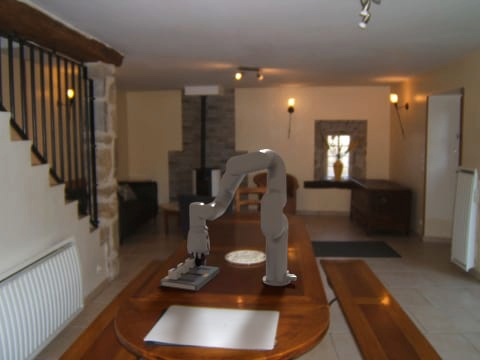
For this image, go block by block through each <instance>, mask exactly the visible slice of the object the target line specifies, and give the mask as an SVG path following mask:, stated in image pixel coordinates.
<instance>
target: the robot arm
mask: <svg viewBox="0 0 480 360" xmlns="http://www.w3.org/2000/svg"><path fill="white" fill-rule="evenodd" d="M264 170H266V172H267V173H266V174H267V175H266V192H265V193H264V194H263V196H262V197H261V200H260V229H261V232H262V234H263V235H264V236H265V275H264V276H263V277H262V282H263V283H264V284H265V285H268V286H272V287H284V286H286V285H289V284H290V283H291V281H294V282H295V281H297V279H298V278H297V276H296V275H295V274H290V270H288V240H289V239H288V236H289V220H288V218H287V216H286V215H285V213H284V208H285V206H286V204H287V199H288V197H287V196H288V195H287V167H286V163H285V161H284V159H283V157H282V156H281V155H280V154H279V153H278V152H277V151H274V150H272V149H269V148H265V149H258V150H255V151H252V152H248V153H244V154H241V155H236V156H232V157H231V158H229V159H228V160H227V162H226V165H225V172H224V174H223V175H222V177H221V179H220V180H219V191H218V192H217V195H216V196H215V197H214V199H213V201H211V202H210V203H207V204H205V203H204V202H202V201H195V202H191V203H190V204H189V207H188V208H189V230H188V233H187V242H186V243H187V245H186V248H187V254H188V253H190V254H192V255H193V256H194V258H195V264H196V267H197V266H198V267H200V266H201V265H202V257H203V256H204V255H207V256H208V255H210V252H209V251H210V249H211V247H210V245H211V244H210V237H209V232H208V230H209V227H208V226H207V224H206V222H207V221H215V220H216V219H218V218H219V217H222V215H224V213H225V212H226V211H227V209H228V207H229V206H230V204H231V202H232V200H233V198H234V196H235V194H236V192H237V190H238V188H239V186H240V185H241V183H242V182H243V180H244V178H245V177H246V175H249V174H253V173H257V172H260V171H261V172H262V171H264ZM198 253H199V255H198Z"/></svg>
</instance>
